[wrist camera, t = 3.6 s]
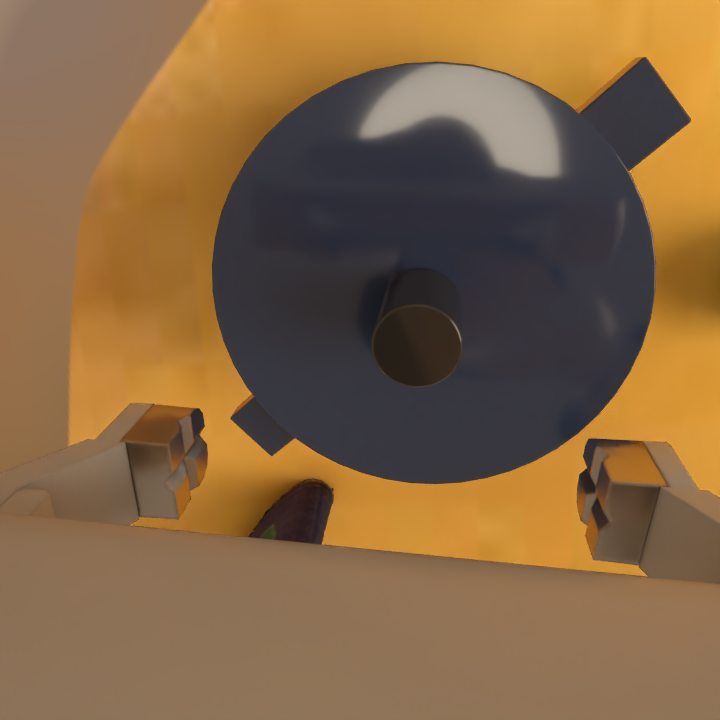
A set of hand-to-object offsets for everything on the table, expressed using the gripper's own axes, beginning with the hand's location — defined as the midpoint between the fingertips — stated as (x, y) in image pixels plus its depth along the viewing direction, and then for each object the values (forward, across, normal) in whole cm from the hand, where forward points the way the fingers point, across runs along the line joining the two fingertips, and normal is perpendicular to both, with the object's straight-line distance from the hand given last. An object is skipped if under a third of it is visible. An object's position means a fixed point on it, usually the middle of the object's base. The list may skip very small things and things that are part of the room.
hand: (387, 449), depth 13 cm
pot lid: (+9, 0, 0) cm, 9 cm away
